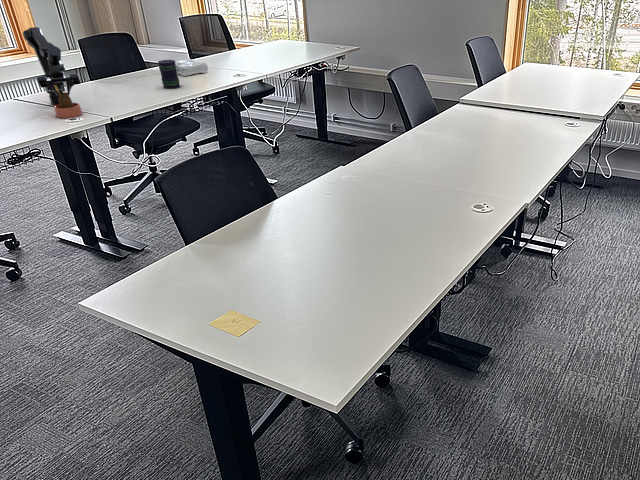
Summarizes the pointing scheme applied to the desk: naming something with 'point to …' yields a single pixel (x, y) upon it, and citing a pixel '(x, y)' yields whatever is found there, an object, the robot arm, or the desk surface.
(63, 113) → the pot
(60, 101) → the utensil holder
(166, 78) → the storage jar
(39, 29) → the robot arm
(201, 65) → the white plastic package
